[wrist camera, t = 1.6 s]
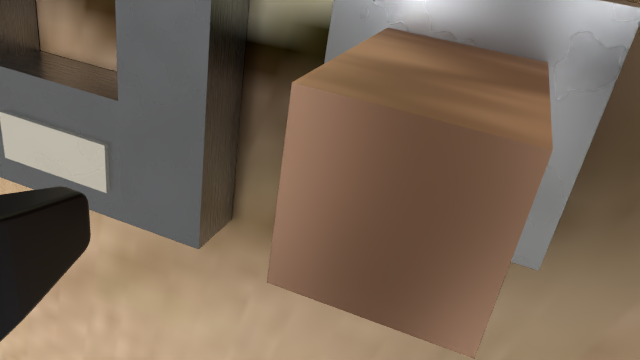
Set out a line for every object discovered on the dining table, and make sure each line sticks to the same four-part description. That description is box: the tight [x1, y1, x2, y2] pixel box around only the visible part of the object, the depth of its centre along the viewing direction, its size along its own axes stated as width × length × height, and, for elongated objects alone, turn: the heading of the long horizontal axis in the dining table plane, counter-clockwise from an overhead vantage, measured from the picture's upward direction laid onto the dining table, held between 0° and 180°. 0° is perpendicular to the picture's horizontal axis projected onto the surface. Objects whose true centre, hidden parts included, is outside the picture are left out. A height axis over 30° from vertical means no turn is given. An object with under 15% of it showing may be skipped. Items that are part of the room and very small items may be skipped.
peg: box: [267, 28, 553, 358], centre depth 13 cm, size 4×4×7 cm
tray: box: [324, 0, 640, 271], centre depth 17 cm, size 8×8×2 cm
